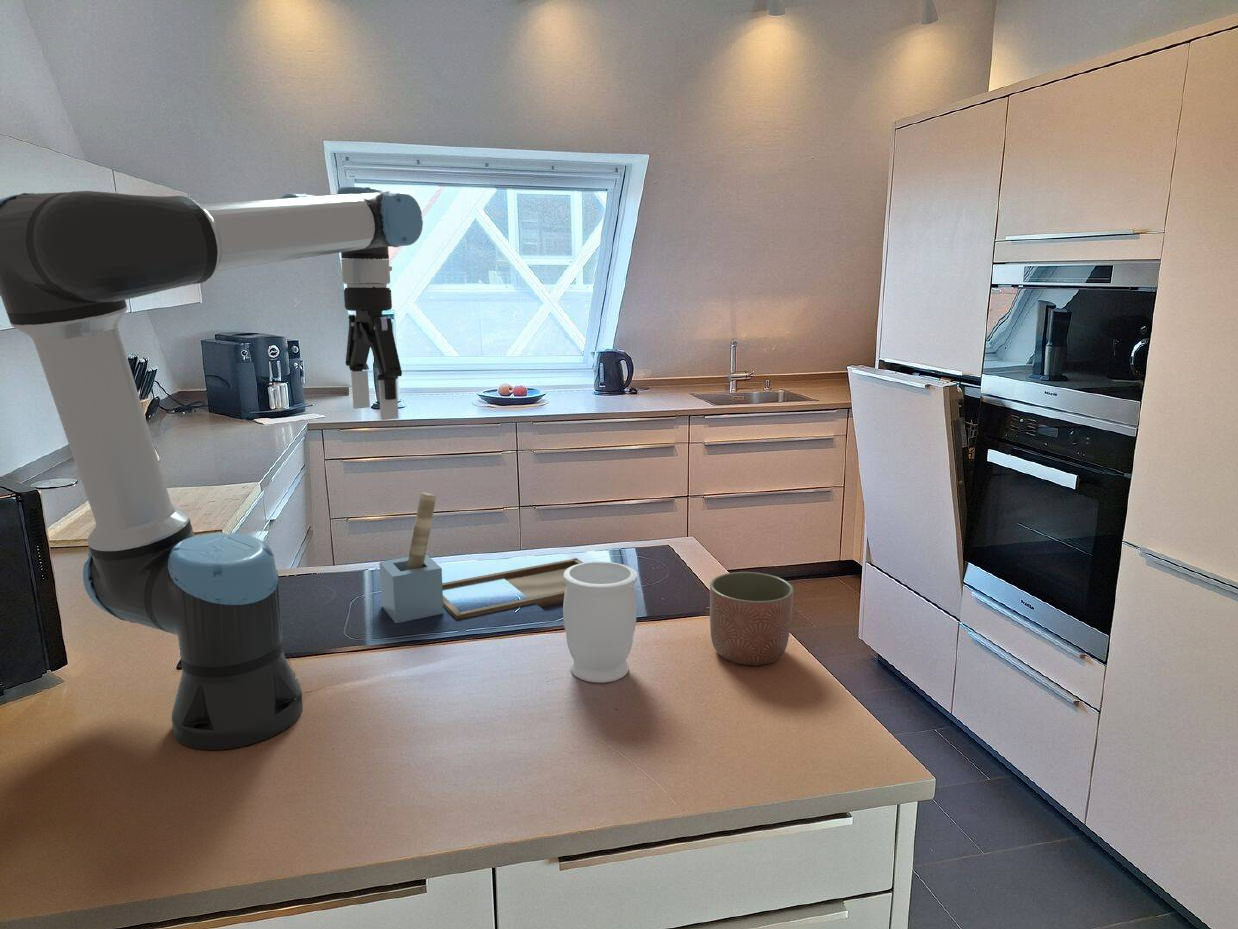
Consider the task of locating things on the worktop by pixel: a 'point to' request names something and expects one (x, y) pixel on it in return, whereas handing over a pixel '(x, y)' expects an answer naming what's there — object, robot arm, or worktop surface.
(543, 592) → the tray
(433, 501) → the dowel
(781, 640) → the planter
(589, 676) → the jar
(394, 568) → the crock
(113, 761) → the worktop surface
